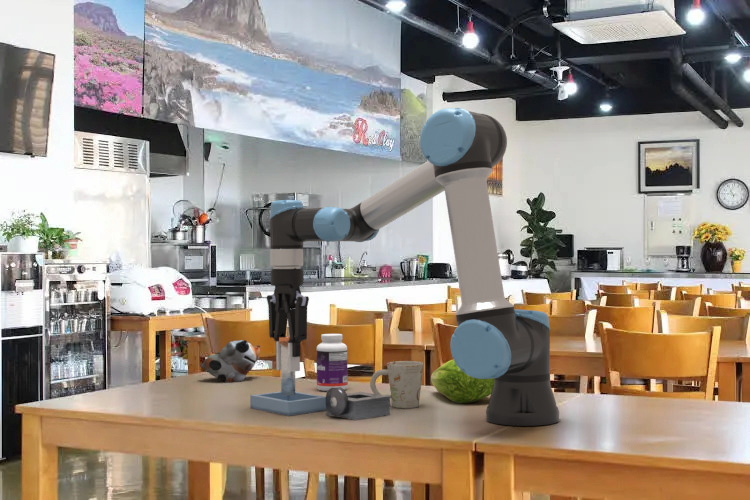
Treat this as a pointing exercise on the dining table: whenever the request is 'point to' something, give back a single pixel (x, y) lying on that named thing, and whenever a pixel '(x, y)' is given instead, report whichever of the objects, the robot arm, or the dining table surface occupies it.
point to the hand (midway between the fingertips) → (288, 370)
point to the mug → (402, 382)
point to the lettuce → (460, 384)
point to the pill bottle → (331, 362)
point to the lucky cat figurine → (232, 361)
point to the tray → (288, 403)
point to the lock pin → (286, 369)
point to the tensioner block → (356, 404)
